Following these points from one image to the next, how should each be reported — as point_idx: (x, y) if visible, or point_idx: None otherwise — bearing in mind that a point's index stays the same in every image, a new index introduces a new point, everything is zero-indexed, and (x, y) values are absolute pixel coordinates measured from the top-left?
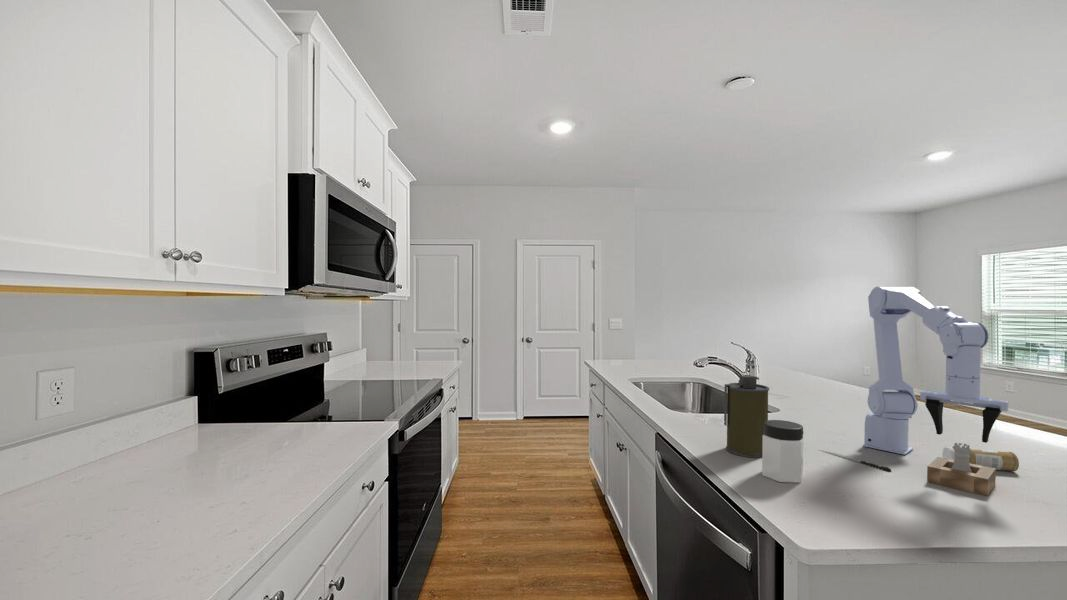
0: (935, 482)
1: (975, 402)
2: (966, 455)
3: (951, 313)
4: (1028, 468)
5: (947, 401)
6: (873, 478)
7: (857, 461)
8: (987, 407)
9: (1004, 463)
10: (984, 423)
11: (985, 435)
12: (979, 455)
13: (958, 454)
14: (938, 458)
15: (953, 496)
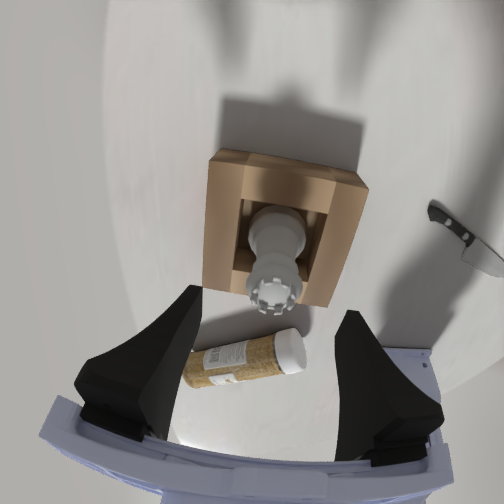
0: (338, 170)
1: (169, 465)
2: (261, 262)
3: None
4: None
5: (334, 469)
6: (466, 120)
7: (478, 239)
8: (130, 433)
9: (201, 356)
10: (163, 342)
11: (180, 300)
12: (239, 361)
13: (284, 261)
14: (328, 293)
15: (297, 80)
